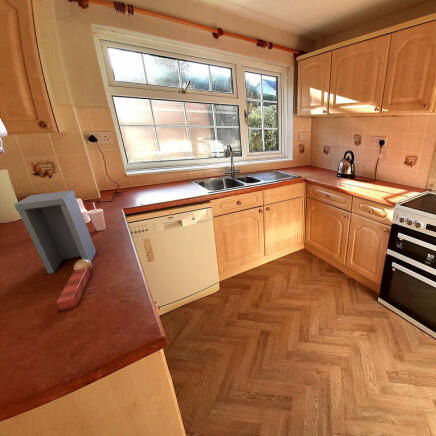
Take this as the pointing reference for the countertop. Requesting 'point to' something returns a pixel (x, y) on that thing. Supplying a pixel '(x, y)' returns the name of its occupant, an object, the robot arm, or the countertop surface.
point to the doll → (75, 285)
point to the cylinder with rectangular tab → (83, 211)
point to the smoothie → (97, 218)
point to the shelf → (56, 227)
